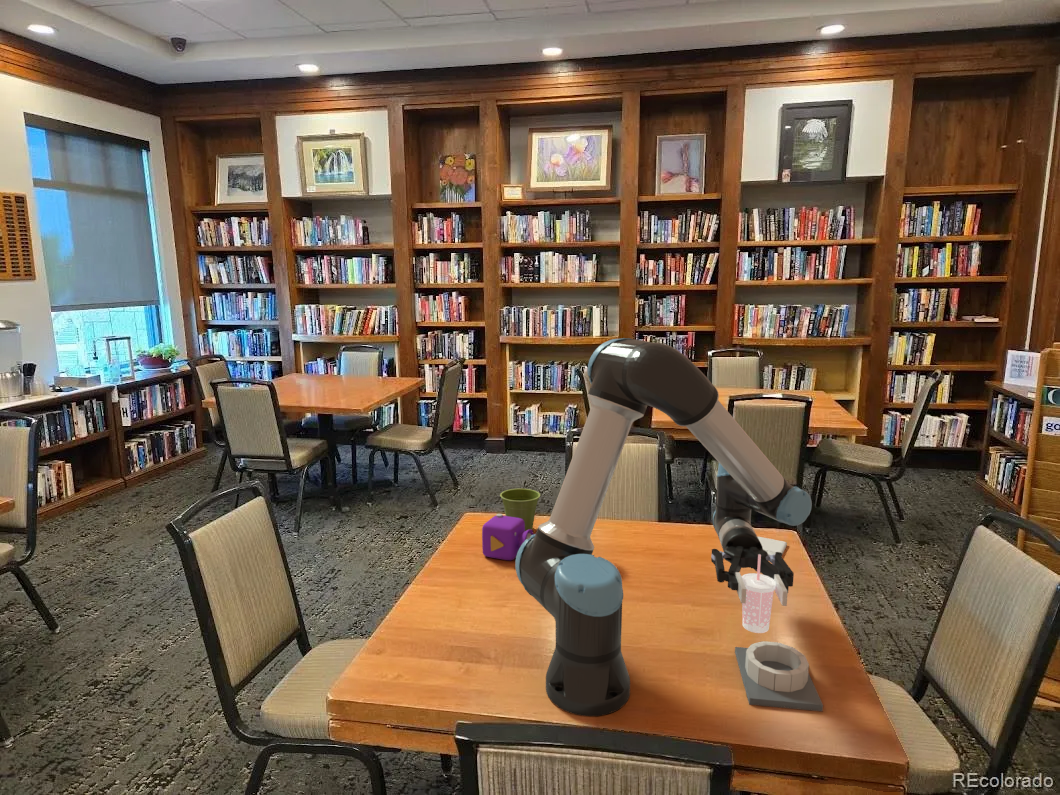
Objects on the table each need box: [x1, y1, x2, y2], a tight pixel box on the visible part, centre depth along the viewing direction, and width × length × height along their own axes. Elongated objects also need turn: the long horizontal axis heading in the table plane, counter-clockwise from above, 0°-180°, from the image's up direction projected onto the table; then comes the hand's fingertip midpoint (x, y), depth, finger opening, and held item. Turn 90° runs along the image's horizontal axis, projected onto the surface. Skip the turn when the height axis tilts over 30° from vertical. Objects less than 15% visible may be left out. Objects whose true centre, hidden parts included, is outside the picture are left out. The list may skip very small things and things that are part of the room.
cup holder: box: [734, 640, 824, 712], centre depth 116 cm, size 12×16×4 cm
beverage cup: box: [741, 554, 776, 634], centre depth 115 cm, size 6×6×14 cm
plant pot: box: [499, 488, 541, 531], centre depth 187 cm, size 12×12×11 cm
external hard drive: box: [757, 536, 788, 555], centre depth 173 cm, size 2×8×12 cm
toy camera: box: [481, 513, 535, 561], centre depth 171 cm, size 11×14×10 cm
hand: (764, 597), depth 110 cm, fingers closed on beverage cup, 6 cm apart
